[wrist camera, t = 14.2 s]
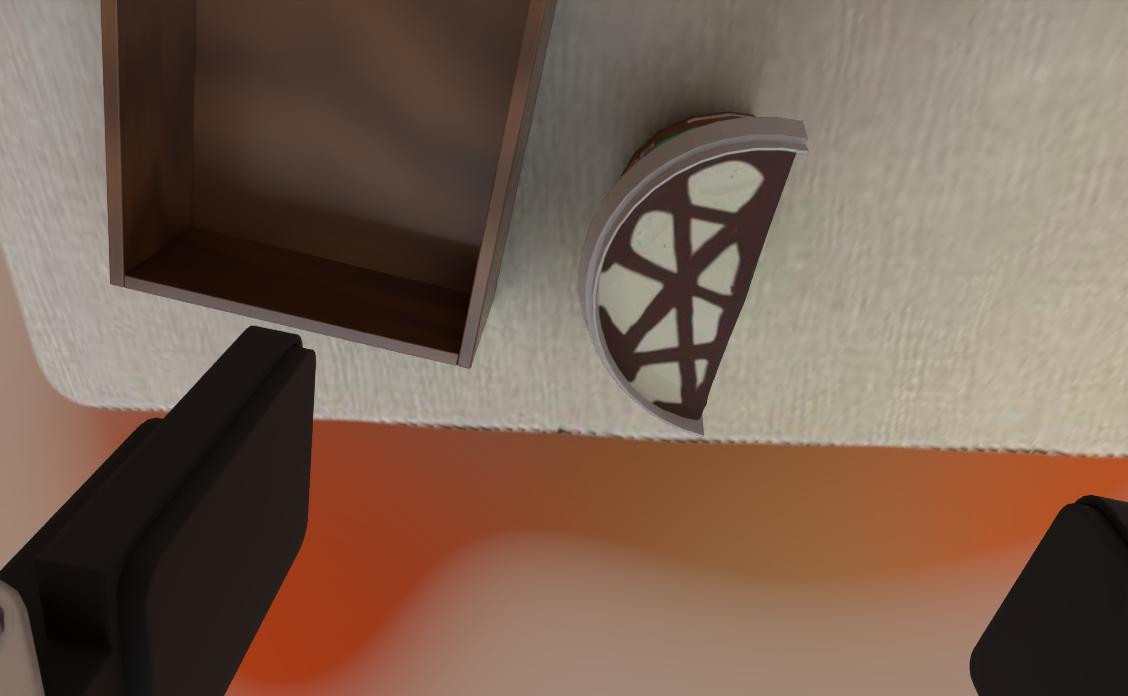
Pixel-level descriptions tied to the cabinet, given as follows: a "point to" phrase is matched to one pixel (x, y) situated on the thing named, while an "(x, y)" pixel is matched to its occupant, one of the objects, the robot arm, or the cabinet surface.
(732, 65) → the cabinet surface
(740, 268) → the food container
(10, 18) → the cabinet surface
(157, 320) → the cabinet surface
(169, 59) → the chest
